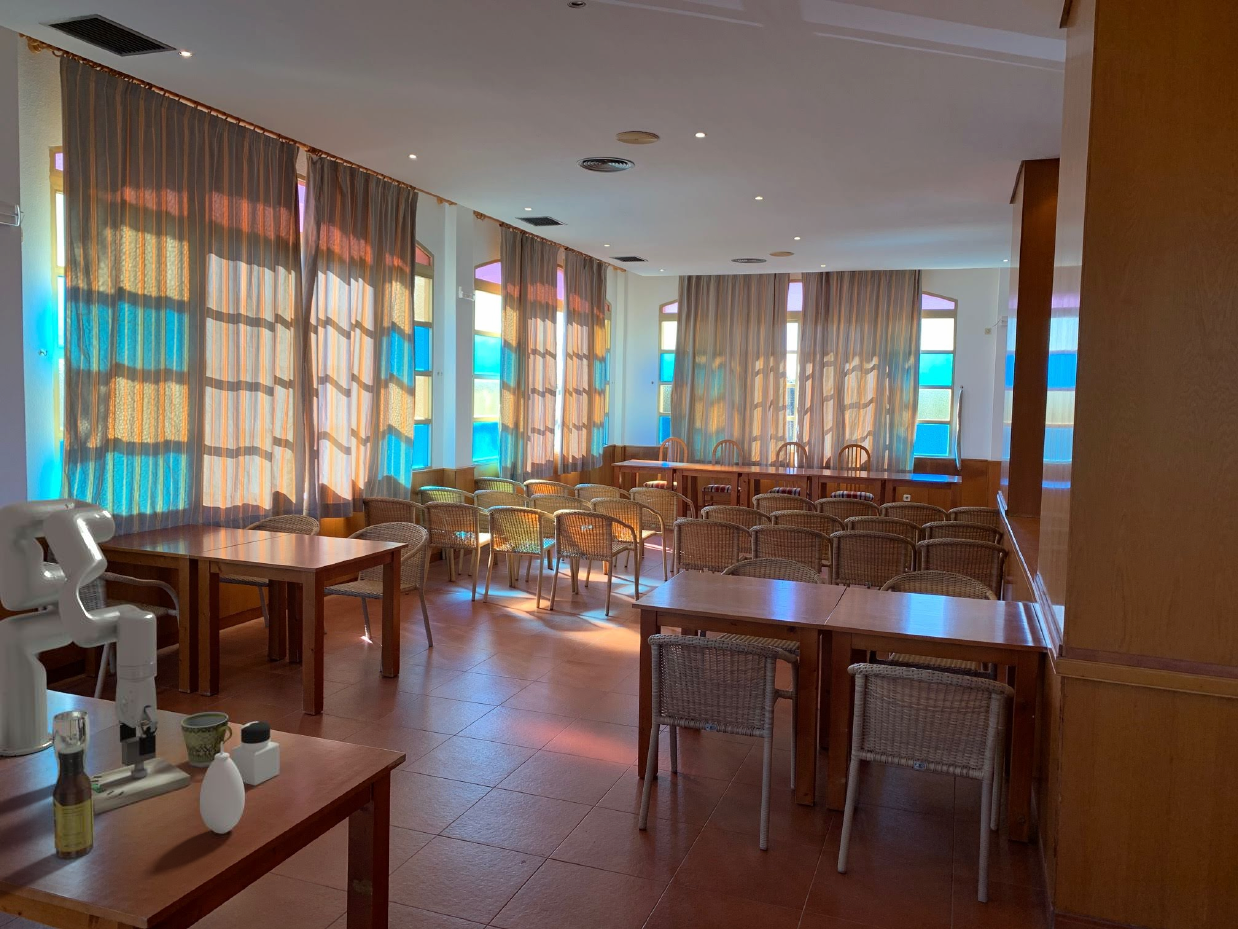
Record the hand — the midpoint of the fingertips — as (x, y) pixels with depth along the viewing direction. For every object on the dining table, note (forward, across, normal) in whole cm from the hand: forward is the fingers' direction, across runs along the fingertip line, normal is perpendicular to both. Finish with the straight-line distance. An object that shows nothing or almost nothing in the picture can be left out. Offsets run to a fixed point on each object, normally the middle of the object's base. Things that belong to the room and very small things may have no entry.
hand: (137, 747), depth 196 cm
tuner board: (+8, 0, -2) cm, 9 cm away
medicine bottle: (+8, +14, +19) cm, 25 cm away
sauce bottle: (+8, +22, -20) cm, 30 cm away
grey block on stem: (+6, +1, -2) cm, 7 cm away
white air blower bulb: (+8, +34, +2) cm, 35 cm away
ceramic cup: (+9, 0, +16) cm, 18 cm away
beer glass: (+9, -12, -9) cm, 17 cm away
